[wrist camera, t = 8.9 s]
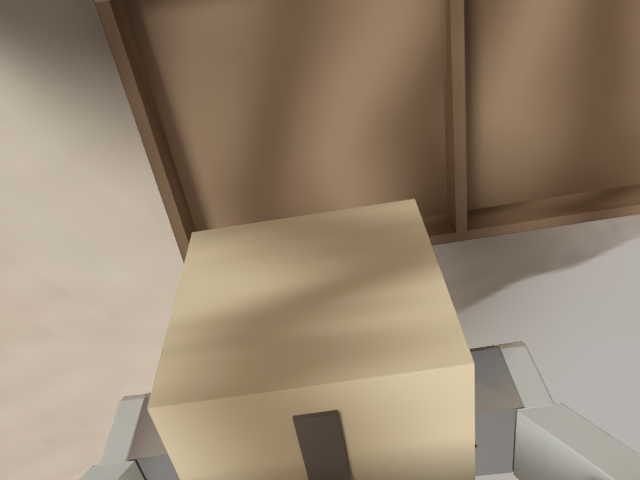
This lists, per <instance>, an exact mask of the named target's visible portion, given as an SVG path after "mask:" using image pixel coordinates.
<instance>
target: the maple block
mask: <svg viewBox="0 0 640 480" xmlns="http://www.w3.org/2000/svg"><path fill="white" fill-rule="evenodd" d="M147 409H148V412H149V414H150V416H151V418H152V420H153V422H154V424H155V427H156V429H157V431H158V433H159V435H160V437H161V440H162V442H163V444H164V446H165V448H166V450H167V453H168V455H169V457H170V459H171V461H172V463H173V465H174V468H175V470H176V472H177V474H178V476H179V478H180V480H475V363H474V361H473V358H472V355H471V352H470V350H469V347H468V344H467V341H466V339H465V336H464V333H463V331H462V328H461V325H460V322H459V319H458V316H457V314H456V311H455V308H454V305H453V303H452V300H451V297H450V294H449V292H448V289H447V286H446V283H445V281H444V278H443V275H442V272H441V270H440V267H439V264H438V261H437V259H436V256H435V253H434V250H433V247H432V245H431V242H430V239H429V236H428V234H427V231H426V228H425V225H424V223H423V220H422V217H421V214H420V212H419V209H418V206H417V203H416V201H415V199H409V200H403V201H396V202H389V203H383V204H376V205H370V206H363V207H356V208H350V209H343V210H337V211H330V212H323V213H317V214H310V215H304V216H297V217H290V218H284V219H277V220H270V221H264V222H257V223H251V224H244V225H237V226H231V227H224V228H218V229H211V230H204V231H198V232H192V235H191V239H190V242H189V246H188V250H187V254H186V258H185V262H184V266H183V270H182V274H181V278H180V282H179V286H178V290H177V293H176V297H175V301H174V305H173V309H172V313H171V317H170V321H169V325H168V329H167V333H166V337H165V341H164V344H163V348H162V352H161V356H160V360H159V364H158V368H157V372H156V376H155V380H154V384H153V388H152V392H151V395H150V399H149V403H148V407H147Z"/></svg>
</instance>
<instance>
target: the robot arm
mask: <svg viewBox="0 0 640 480" xmlns="http://www.w3.org/2000/svg"><path fill="white" fill-rule="evenodd" d="M469 350H470V352H471V355H472V358H473V361H474V363H475V476H480V475H490V474H500V473H510V472H514V475H515V476H516V477H517V478H518V479H519V480H640V455H639V454H638V453H636V452H635V451H633V450H631V449H630V448H629V447H627V446H626V445H624V444H623V443H621V442H620V441H618V440H617V439H615V438H614V437H612V436H611V435H609V434H608V433H606V432H605V431H603V430H602V429H600V428H599V427H597V426H596V425H594V424H593V423H591V422H590V421H588V420H587V419H585V418H583V417H582V416H581V415H579V414H578V413H576V412H575V411H573V410H571V409H570V408H568V407H567V406H566V405H564V404H554V402H553V400H552V398H551V396H550V394H549V392H548V390H547V388H546V386H545V384H544V382H543V379H542V377H541V375H540V373H539V371H538V369H537V367H536V365H535V363H534V361H533V359H532V357H531V355H530V353H529V351H528V349H527V347H526V345H525V344H524V343H523V342H522V341H521V342H514V343H508V344H501V345H497V346H487V347H480V348H473V349H469ZM150 395H151V393H148V394H141V395H132V396H124V397H123V399H122V400H121V401H120V402H119V405H118V408H117V411H116V414H115V418H114V421H113V424H112V427H111V430H110V434H109V437H108V440H107V443H106V446H105V450H104V453H103V456H102V459H101V462H100V465H96V466H92V467H91V468H90V469H89V470H88V471H87V472H86V473H85V474H84V475H83V476H82V477H81V478H80V479H79V480H180V478H179V476H178V474H177V472H176V470H175V468H174V465H173V463H172V461H171V459H170V457H169V455H168V453H167V450H166V448H165V446H164V444H163V442H162V440H161V437H160V435H159V433H158V431H157V429H156V427H155V424H154V422H153V420H152V418H151V416H150V414H149V412H148V409H147V407H148V403H149V399H150Z"/></svg>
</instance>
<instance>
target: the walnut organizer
mask: <svg viewBox="0 0 640 480" xmlns="http://www.w3.org/2000/svg"><path fill="white" fill-rule="evenodd" d="M94 1H95V4H96V7H97V10H98V13H99V16H100V19H101V22H102V25H103V28H104V31H105V34H106V36H107V39H108V42H109V45H110V48H111V51H112V54H113V57H114V60H115V63H116V66H117V69H118V72H119V75H120V77H121V80H122V83H123V86H124V89H125V92H126V95H127V98H128V101H129V104H130V107H131V110H132V113H133V116H134V118H135V121H136V124H137V127H138V130H139V133H140V136H141V139H142V142H143V145H144V148H145V151H146V154H147V156H148V159H149V162H150V165H151V168H152V171H153V174H154V177H155V180H156V183H157V186H158V189H159V192H160V195H161V197H162V200H163V203H164V206H165V209H166V212H167V215H168V218H169V221H170V224H171V227H172V230H173V233H174V236H175V238H176V241H177V244H178V247H179V250H180V253H181V256H182V259H183V262H185V258H186V254H187V250H188V246H189V242H190V239H191V235H192V232H198V231H204V230H211V229H218V228H224V227H231V226H237V225H244V224H251V223H257V222H264V221H270V220H277V219H284V218H290V217H297V216H304V215H310V214H317V213H323V212H330V211H337V210H343V209H350V208H356V207H363V206H370V205H376V204H383V203H389V202H396V201H403V200H409V199H415V201H416V203H417V206H418V209H419V212H420V214H421V217H422V220H423V223H424V225H425V228H426V231H427V234H428V236H429V239H430V242H431V245H437V244H443V243H450V242H456V241H463V240H470V239H476V238H483V237H489V236H496V235H503V234H509V233H516V232H522V231H529V230H536V229H542V228H549V227H555V226H562V225H569V224H575V223H582V222H588V221H595V220H602V219H608V218H615V217H621V216H628V215H635V214H640V0H94Z"/></svg>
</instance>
